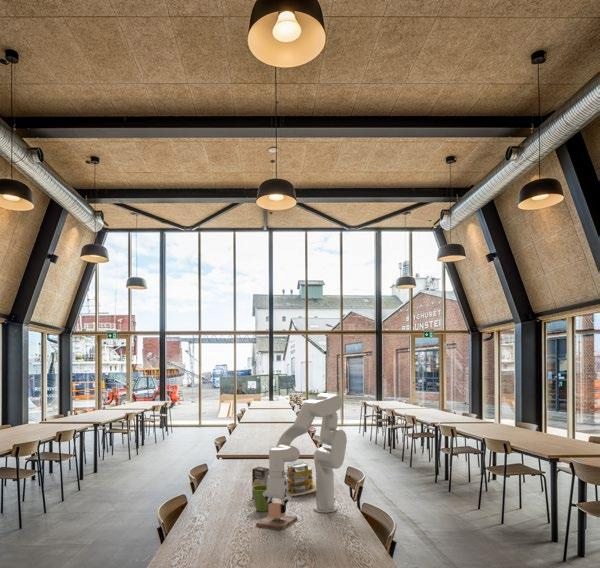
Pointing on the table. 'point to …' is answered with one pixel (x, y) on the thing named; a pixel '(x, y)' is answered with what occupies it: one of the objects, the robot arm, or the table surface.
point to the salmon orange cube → (275, 510)
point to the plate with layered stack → (299, 479)
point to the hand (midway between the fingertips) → (276, 511)
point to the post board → (276, 522)
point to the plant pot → (260, 497)
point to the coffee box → (259, 477)
